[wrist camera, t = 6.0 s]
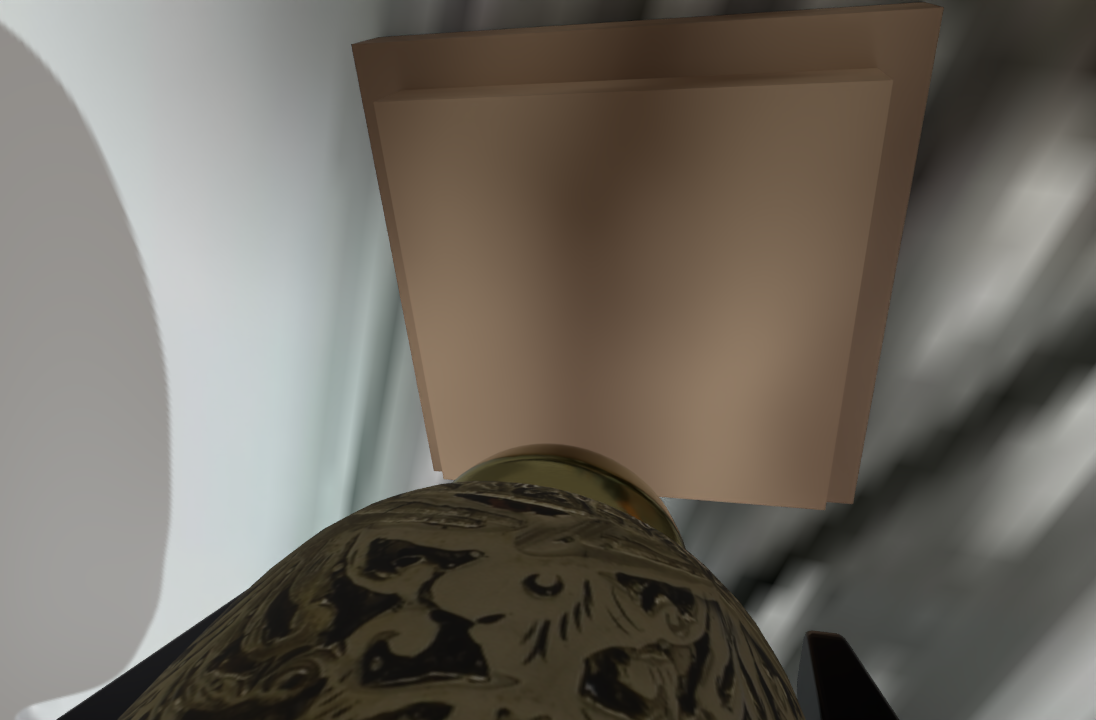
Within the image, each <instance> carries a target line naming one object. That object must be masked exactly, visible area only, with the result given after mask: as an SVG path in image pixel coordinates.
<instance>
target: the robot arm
mask: <svg viewBox="0 0 1096 720" xmlns="http://www.w3.org/2000/svg"><path fill="white" fill-rule="evenodd" d="M247 590H248V589H247ZM247 590H246V591H247ZM244 592H245V591H244ZM244 592H243V593H244ZM243 593H241V594H240V595H239V596H237V597H236V598H234V599H233V600H231V601H230V602H228V603H227V604H225V605H224V606H222V607H221V608H219V609H218V610H217V611H215V612H214V613H212V614H211V615H209V616H208V617H206V618H205V619H203V620H202V621H200V622H199V623H197V624H196V625H195V626H193V627H192V628H190V629H189V630H187V631H186V632H184V633H183V634H181V635H180V636H178V637H177V638H175V639H174V640H173V641H171V642H170V643H168V644H167V645H165V646H164V647H162V648H161V649H159V650H158V651H156V652H155V653H153V654H152V655H150V656H149V657H148V658H146V659H145V660H143V661H142V662H140V663H139V664H137V665H136V666H134V667H133V668H131V669H130V670H128V671H127V672H126V673H124V674H123V675H121V676H120V677H118V678H117V679H115V680H114V681H112V682H111V683H109V684H108V685H106V686H105V687H104V688H102V689H101V690H99V691H98V692H96V693H95V694H93V695H92V696H90V697H89V698H87V699H86V700H84V701H83V702H82V703H80V704H79V705H77V706H76V707H74V708H73V709H71V710H70V711H68V712H67V713H65V714H64V715H62V716H61V717H60V718H58V719H57V720H118V719H119V717H120V716H121V715H122V714H123V713H124V712H125V711H126V710H127V709H128V708H129V707H130V706H131V705H132V704H133V703H134V702H135V701H136V700H137V699H138V698H139V697H140V696H141V695H142V694H143V693H144V692H145V691H146V690H147V688H148V687H149V686H150V685H151V684H152V683H153V682H154V681H155V680H156V679H157V678H158V677H159V676H160V675H161V674H162V673H163V672H164V671H165V670H166V669H167V668H168V667H169V666H170V665H171V664H172V663H173V662H174V661H175V660H176V659H177V658H178V657H179V656H180V655H181V654H182V653H183V652H184V651H185V650H186V649H187V648H188V647H189V646H190V645H191V644H192V643H193V642H194V641H195V640H196V639H197V638H198V637H199V636H200V635H201V634H202V633H203V632H204V631H205V630H206V629H207V628H208V627H209V626H210V625H211V624H212V623H213V622H214V621H215V620H216V619H217V618H218V617H219V616H220V615H221V614H222V613H223V612H224V611H225V610H226V609H227V608H228V607H229V606H230V605H231V604H232V603H233V602H234V601H236V600H237V599H238V598H239V597H240V596H241V595H242V594H243ZM797 698H798V703H799V705H800V707H801V710H802V712H803V714H804V717H805V719H806V720H899V718H898V717H897V715H896V714H895V712H894V711H893V709H892V708H891V706H890V705H889V703H888V702H887V700H886V699H885V697H884V696H883V694H882V693H881V691H880V690H879V688H878V687H877V685H876V684H875V682H874V681H873V679H872V678H871V676H870V675H869V673H868V672H867V670H866V669H865V667H864V666H863V664H862V663H861V661H860V660H859V658H858V657H857V655H856V654H855V652H854V651H853V649H852V648H851V646H850V645H849V643H848V642H847V641H846V639H845V638H844V637H843V636H841V635H840V634H836V633H828V632H820V631H808V632H806V634H805V636H804V639H803V646H802V652H801V658H800V665H799V671H798V681H797Z"/></svg>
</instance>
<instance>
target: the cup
mask: <svg viewBox="0 0 1096 720" xmlns="http://www.w3.org/2000/svg"><path fill="white" fill-rule="evenodd" d="M118 720H806V719H805V717H804V714H803V712H802V710H801V707H800V705H799V703H798V700H797V698H796V696H795V693H794V691H793V688H792V686H791V684H790V681H789V679H788V677H787V675H786V673H785V671H784V669H783V668H782V666H781V664H780V662H779V661H778V659H777V657H776V655H775V654H774V652H773V650H772V649H771V647H770V645H769V644H768V642H767V641H766V639H765V637H764V636H763V634H762V633H761V631H760V629H759V628H758V626H757V625H756V623H755V622H754V620H753V619H752V618H751V616H750V615H749V614H748V612H747V611H746V610H745V608H744V607H743V606H742V604H741V603H740V602H739V601H738V600H737V599H736V598H735V597H734V595H733V594H732V593H731V592H730V591H729V590H728V589H727V588H726V587H725V586H724V585H723V584H722V583H721V582H720V581H719V580H718V579H717V578H716V577H715V576H714V575H713V574H712V572H711V571H710V570H709V569H708V568H707V567H706V566H705V565H704V564H702V563H701V562H700V561H699V560H698V559H697V558H695V557H694V556H693V555H692V554H691V553H689V552H688V551H687V550H686V548H685V545H684V542H683V539H682V537H681V535H680V533H679V530H678V528H677V526H676V524H675V522H674V520H673V518H672V516H671V515H670V513H669V511H668V510H667V508H666V506H665V505H664V503H663V502H662V500H661V499H660V498H659V497H658V495H657V494H656V493H655V491H654V490H653V489H652V488H651V487H650V486H649V485H648V484H647V483H646V482H645V481H643V480H642V479H641V478H640V477H639V476H638V475H636V474H635V473H634V472H632V471H631V470H630V469H628V468H627V467H625V466H624V465H622V464H620V463H618V462H617V461H615V460H613V459H611V458H609V457H606V456H604V455H602V454H599V453H597V452H594V451H591V450H588V449H584V448H580V447H576V446H570V445H564V444H551V443H544V444H530V445H522V446H518V447H514V448H510V449H507V450H504V451H501V452H499V453H496V454H494V455H492V456H490V457H488V458H486V459H484V460H482V461H481V462H479V463H478V464H476V465H475V466H473V467H472V468H470V469H469V470H467V471H465V472H464V473H463V474H461V475H460V476H459V477H458V478H457V479H456V480H454V481H453V482H452V483H447V484H440V485H435V486H431V487H426V488H422V489H417V490H413V491H410V492H406V493H403V494H399V495H396V496H393V497H390V498H387V499H384V500H381V501H379V502H376V503H373V504H371V505H369V506H367V507H365V508H363V509H361V510H359V511H357V512H355V513H353V514H351V515H349V516H347V517H345V518H343V519H342V520H340V521H338V522H336V523H334V524H332V525H330V526H329V527H327V528H325V529H323V530H322V531H320V532H319V533H318V534H316V535H315V536H313V537H312V538H310V539H309V540H308V541H306V542H305V543H304V544H302V545H301V546H300V547H298V548H297V549H296V550H294V551H293V552H292V553H290V554H289V555H288V556H287V557H285V558H284V559H283V560H281V561H280V562H279V563H277V564H276V565H275V566H273V567H272V568H271V569H270V570H269V571H268V572H266V573H265V574H264V575H263V576H262V577H261V578H260V579H259V580H258V581H256V582H255V583H254V584H253V585H252V586H251V587H250V588H249V589H248V590H247V591H245V592H244V593H243V594H242V595H241V596H240V597H239V598H238V599H237V600H236V601H234V602H233V603H232V604H231V605H230V606H229V607H228V608H227V609H226V610H225V611H224V612H223V613H222V614H221V615H220V616H219V617H218V618H217V619H216V620H215V621H214V622H213V623H212V624H211V625H210V626H209V627H208V628H207V629H206V630H205V631H204V632H203V633H202V634H201V635H200V636H199V637H198V638H197V639H196V640H195V641H194V642H193V643H192V644H191V645H190V646H189V647H188V648H187V649H186V650H185V651H184V652H183V653H182V654H181V655H180V656H179V657H178V658H177V659H176V660H175V661H174V662H173V663H172V664H171V665H170V666H169V667H168V668H167V669H166V670H165V671H164V672H163V673H162V674H161V675H160V676H159V677H158V678H157V679H156V680H155V681H154V682H153V683H152V684H151V685H150V686H149V687H148V688H147V690H146V691H145V692H144V693H143V694H142V695H141V696H140V697H139V698H138V699H137V700H136V701H135V702H134V703H133V704H132V705H131V706H130V707H129V708H128V709H127V710H126V711H125V712H124V713H123V714H122V715H121V716H120V717H119V719H118Z"/></svg>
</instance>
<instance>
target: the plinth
mask: <svg viewBox="0 0 1096 720" xmlns="http://www.w3.org/2000/svg"><path fill="white" fill-rule="evenodd" d="M943 10H944V7H941V6H937V5H933V4H929V3H925V2H918V3H903V4H887V5H872V6H856V7H840V8H825V9H809V10H794V11H778V12H763V13H747V14H732V15H716V16H701V17H685V18H670V19H654V20H638V21H623V22H607V23H592V24H576V25H561V26H545V27H530V28H514V29H499V30H483V31H468V32H452V33H436V34H421V35H405V36H390V37H378V38H374V39H370V40H366V41H362V42H359V43H355V44H351V45H352V51H353V56H354V61H355V66H356V71H357V76H358V82H359V87H360V92H361V97H362V102H363V107H364V112H365V118H366V123H367V128H368V133H369V138H370V143H371V149H372V154H373V159H374V164H375V169H376V174H377V179H378V185H379V190H380V195H381V200H382V205H383V210H384V216H385V221H386V226H387V231H388V236H389V241H390V247H391V252H392V257H393V262H394V267H395V272H396V277H397V283H398V288H399V293H400V298H401V303H402V308H403V314H404V319H405V324H406V329H407V334H408V339H409V344H410V350H411V355H412V360H413V365H414V370H415V375H416V381H417V386H418V391H419V396H420V401H421V406H422V412H423V417H424V422H425V427H426V432H427V437H428V442H429V448H430V453H431V458H432V463H433V468H434V471H442V472H443V478H444V479H449V480H456V479H457V478H458V477H459V476H460V475H461V474H463V473H464V472H465V471H467V470H469V469H470V468H472V467H473V466H475V465H476V464H478V463H479V462H481V461H482V460H484V459H486V458H488V457H490V456H492V455H494V454H496V453H499V452H501V451H504V450H507V449H510V448H514V447H518V446H522V445H530V444H544V443H551V444H564V445H570V446H576V447H580V448H584V449H588V450H591V451H594V452H597V453H599V454H602V455H604V456H606V457H609V458H611V459H613V460H615V461H617V462H618V463H620V464H622V465H624V466H625V467H627V468H628V469H630V470H631V471H632V472H634V473H635V474H636V475H638V476H639V477H640V478H641V479H642V480H643V481H645V482H646V483H647V484H648V485H649V486H650V487H651V488H652V489H653V490H654V491H655V493H656V494H657V495H658V497H670V498H682V499H695V500H707V501H719V502H732V503H744V504H756V505H769V506H781V507H793V508H805V509H818V510H825V507H826V502H834V503H847V504H853V500H854V495H855V489H856V484H857V479H858V473H859V468H860V462H861V457H862V451H863V446H864V440H865V435H866V430H867V424H868V419H869V413H870V408H871V402H872V397H873V391H874V386H875V380H876V375H877V370H878V364H879V359H880V353H881V348H882V342H883V337H884V331H885V326H886V320H887V315H888V310H889V304H890V299H891V293H892V288H893V282H894V277H895V271H896V266H897V260H898V255H899V250H900V244H901V239H902V233H903V228H904V222H905V217H906V211H907V206H908V200H909V195H910V190H911V184H912V179H913V173H914V168H915V162H916V157H917V151H918V146H919V141H920V135H921V130H922V124H923V119H924V113H925V108H926V102H927V97H928V91H929V86H930V81H931V75H932V70H933V64H934V59H935V53H936V48H937V42H938V37H939V31H940V26H941V21H942V15H943Z"/></svg>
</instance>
